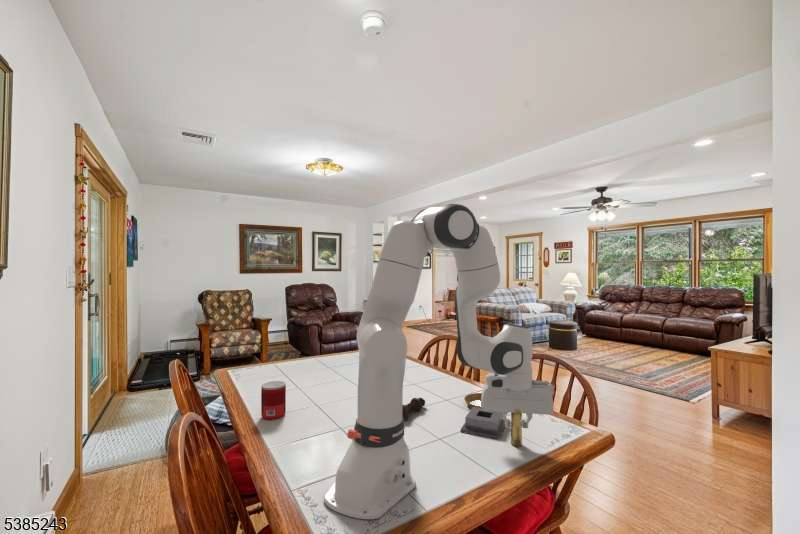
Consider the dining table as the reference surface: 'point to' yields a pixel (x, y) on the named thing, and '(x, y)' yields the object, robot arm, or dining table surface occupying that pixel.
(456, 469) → the dining table surface
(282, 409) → the canned food
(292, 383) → the dining table surface
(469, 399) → the plant saucer
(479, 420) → the grey socket base
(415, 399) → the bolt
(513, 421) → the pin
